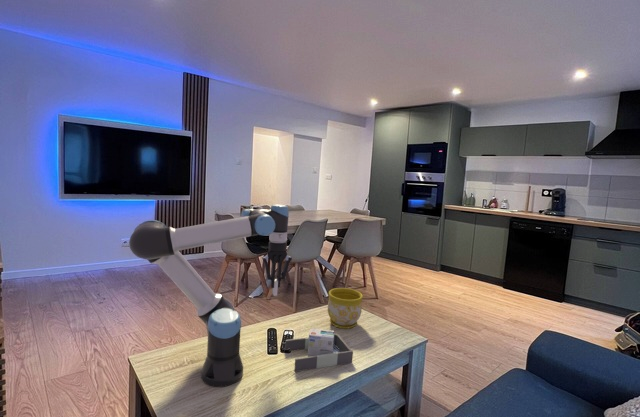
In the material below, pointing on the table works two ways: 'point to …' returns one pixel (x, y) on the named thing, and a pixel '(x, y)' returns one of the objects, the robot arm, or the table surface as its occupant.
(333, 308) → the flowerpot
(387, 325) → the table surface
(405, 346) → the table surface
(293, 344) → the trap channel
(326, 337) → the light bulb box
